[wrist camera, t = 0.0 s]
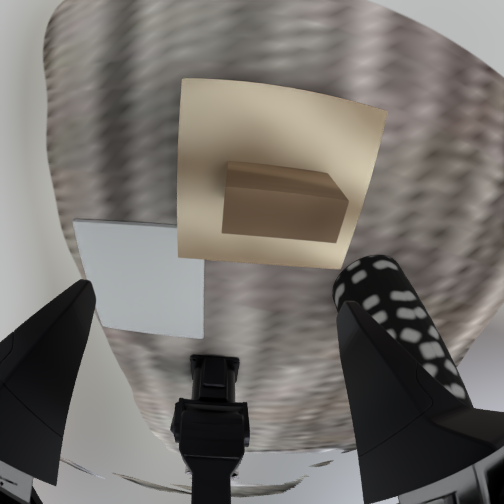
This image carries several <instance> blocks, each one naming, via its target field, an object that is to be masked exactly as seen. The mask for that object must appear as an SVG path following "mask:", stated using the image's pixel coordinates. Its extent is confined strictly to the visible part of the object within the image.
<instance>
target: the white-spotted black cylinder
mask: <svg viewBox="0 0 504 504" xmlns="http://www.w3.org/2000/svg"><path fill="white" fill-rule="evenodd" d="M333 299H334V302H335V305H336V308H337V311H338V313H339V311H340V309H341V307H342V305H343V303H344V302H345V301H355V302H357V303H358V304H359V305H360V306H361V307H362V308H363V309H364V310H365V311H366V312H367V313H369V314H370V315H371V316H372V317H373V318H374V319H375V320H376V321H377V322H378V323H379V324H380V325H381V326H382V327H383V328H384V329H385V330H386V331H387V332H388V333H389V334H390V335H391V336H392V337H393V338H394V339H395V340H396V341H397V342H398V343H399V344H400V345H401V346H402V347H403V348H404V349H405V350H406V351H407V352H408V353H409V354H410V355H411V356H412V357H413V358H414V359H415V360H416V361H417V362H419V363H420V364H421V365H422V366H423V368H424V369H426V370H427V371H428V372H429V373H430V374H431V375H432V376H433V377H434V378H435V379H436V380H437V381H438V382H439V383H441V384H442V385H443V386H444V387H445V388H446V389H447V390H449V391H450V392H451V393H452V394H453V395H454V396H455V397H457V398H458V399H459V400H460V401H461V402H463V403H464V404H466V405H467V406H469V407H472V408H474V407H473V405H472V402H471V400H470V398H469V395H468V393H467V390H466V388H465V386H464V383H463V381H462V379H461V377H460V374H459V372H458V370H457V368H456V366H455V364H454V362H453V360H452V358H451V356H450V354H449V351H448V349H447V348H446V346H445V344H444V342H443V340H442V338H441V336H440V334H439V332H438V330H437V328H436V327H435V325H434V323H433V321H432V319H431V317H430V316H429V314H428V312H427V310H426V309H425V307H424V305H423V304H422V302H421V300H420V298H419V297H418V295H417V293H416V292H415V290H414V288H413V287H412V285H411V284H410V282H409V280H408V279H407V277H406V276H405V274H404V272H403V271H402V269H401V268H400V266H399V265H398V263H397V262H396V261H395V260H394V259H392V258H390V257H388V256H384V255H373V256H368V257H365V258H362V259H359V260H358V261H356V262H354V263H352V264H351V265H350V266H348V267H347V268H346V269H345V270H344V271H343V272H342V273H341V274H340V275H339V277H338V278H337V280H336V282H335V284H334V287H333Z"/></svg>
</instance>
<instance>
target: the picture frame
mask: <svg viewBox="0 0 504 504" xmlns="http://www.w3.org/2000/svg"><path fill="white" fill-rule="evenodd" d="M73 226H74V231H75V235H76V240H77V244H78V248H79V252H80V256H81V260H82V263H83V267H84V271H85V274H86V278H87V280H90V281H91V282H92V285H93V289H94V292H95V295H96V309H97V312H98V315H99V317H100V320H101V323H102V325H103V327H109V328H115V329H122V330H128V331H135V332H143V333H151V334H159V335H168V336H177V337H187V338H198V339H203V337H204V264H205V260H201V259H189V258H178V241H177V225H168V224H154V223H138V222H121V221H104V220H85V219H74V220H73Z"/></svg>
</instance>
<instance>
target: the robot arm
mask: <svg viewBox="0 0 504 504" xmlns="http://www.w3.org/2000/svg"><path fill="white" fill-rule="evenodd" d="M95 306H96V295H95V292H94V289H93V285H92V282H91V281H90V280H84V279H80V280H79V281H77V282H76V283H74V284H73V285H72V286H70V287H69V288H68V289H66V290H65V291H64V292H62V293H61V294H60V295H58V296H57V297H56V298H54V299H53V300H52V301H50V302H49V303H48V304H46V305H45V306H44V307H43V308H41V309H40V310H39V311H38V312H36V313H35V314H34V315H33V316H31V317H30V318H29V319H28V320H27V321H25V322H24V323H23V324H21V325H20V326H19V327H18V328H17V329H15V331H14V332H12V333H11V334H9V335H8V336H7V337H6V338H5V339H4V340H2V341H1V342H0V504H43V503H42V501H41V500H40V498H39V496H38V495H37V493H36V491H35V489H34V488H33V486H32V484H33V478H37V479H39V480H42V481H44V482H46V483H49V484H51V485H54V486H56V484H57V477H58V468H59V461H60V454H61V447H62V441H63V435H64V430H65V424H66V419H67V414H68V410H69V405H70V401H71V397H72V393H73V389H74V385H75V381H76V378H77V374H78V370H79V367H80V363H81V360H82V357H83V353H84V350H85V347H86V344H87V340H88V336H89V332H90V327H91V323H92V318H93V314H94V310H95ZM336 323H337V332H338V341H339V351H340V359H341V364H342V369H343V374H344V379H345V384H346V389H347V394H348V399H349V404H350V410H351V415H352V421H353V427H354V433H355V439H356V446H357V452H358V457H359V458H358V460H359V466H360V475H361V482H362V491H363V500H364V504H371V503H375V502H378V501H382V500H386V499H389V498H392V497H396V496H398V499H399V503H398V504H504V412H498V411H490V410H483V409H476V408H472V407H469V406H467V405H466V404H464V403H463V402H461V401H460V400H459V399H458V398H457V397H455V396H454V395H453V394H452V393H451V392H450V391H449V390H447V389H446V388H445V387H444V386H443V385H442V384H441V383H439V382H438V381H437V380H436V379H435V378H434V377H433V376H432V375H431V374H430V373H429V372H428V371H427V370H426V369H424V368H423V366H422V365H421V364H420V363H419V362H417V361H416V360H415V359H414V358H413V357H412V356H411V355H410V354H409V353H408V352H407V351H406V350H405V349H404V348H403V347H402V346H401V345H400V344H399V343H398V342H397V341H396V340H395V339H394V338H393V337H392V336H391V335H390V334H389V333H388V332H387V331H386V330H385V329H384V328H383V327H382V326H381V325H380V324H379V323H378V322H377V321H376V320H375V319H374V318H373V317H372V316H371V315H370V314H369V313H367V312H366V311H365V310H364V309H363V308H362V307H361V306H360V305H359V304H358V303H357V302H355V301H345V302H344V303H343V305H342V307H341V309H340V311H339V313H338V316H337V320H336ZM190 361H191V372H192V380H193V387H192V399H184V398H179V402H177V403H175V412H174V417H173V420H172V424H171V428H170V430H171V431H172V433H173V434H174V437H175V442H176V443H179V450H180V453H181V456H182V458H183V461H184V462H185V464H186V466H187V467H188V469H189V471H190V472H191V474H192V501H191V504H231V487H230V478H231V476H232V475H233V473H234V472H235V470H236V469H237V467H238V466H239V464H240V463H241V460H242V458H243V455H244V452H245V449H244V447H248V446H249V439H250V427H249V417H248V407H247V402H243V403H237V402H235V383H236V380H237V375H238V369H239V359H238V358H223V357H208V356H196V355H192V356H191V358H190Z"/></svg>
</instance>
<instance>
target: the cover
mask: <svg viewBox="0 0 504 504" xmlns="http://www.w3.org/2000/svg"><path fill="white" fill-rule="evenodd" d="M387 113H388V112H387V111H385V110H382V109H379V108H375V107H372V106H369V105H365V104H362V103H358V102H354V101H350V100H347V99H343V98H339V97H334V96H330V95H326V94H321V93H316V92H311V91H306V90H301V89H295V88H290V87H283V86H277V85H270V84H262V83H254V82H245V81H234V80H220V79H200V78H182V87H181V100H180V115H179V134H178V160H177V241H178V258H189V259H201V260H214V261H227V262H240V263H254V264H268V265H282V266H296V267H311V268H326V269H341V267H342V264H343V261H344V258H345V256H346V253H347V250H348V247H349V244H350V242H351V239H352V236H353V233H354V230H355V227H356V224H357V221H358V218H359V215H360V212H361V209H362V206H363V202H364V199H365V196H366V193H367V189H368V186H369V183H370V179H371V176H372V172H373V169H374V165H375V161H376V158H377V154H378V150H379V146H380V142H381V138H382V134H383V130H384V126H385V122H386V117H387Z"/></svg>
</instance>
